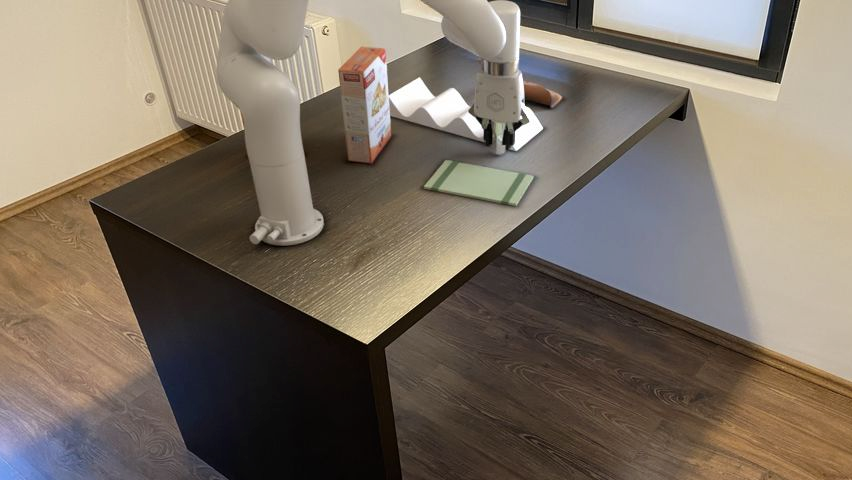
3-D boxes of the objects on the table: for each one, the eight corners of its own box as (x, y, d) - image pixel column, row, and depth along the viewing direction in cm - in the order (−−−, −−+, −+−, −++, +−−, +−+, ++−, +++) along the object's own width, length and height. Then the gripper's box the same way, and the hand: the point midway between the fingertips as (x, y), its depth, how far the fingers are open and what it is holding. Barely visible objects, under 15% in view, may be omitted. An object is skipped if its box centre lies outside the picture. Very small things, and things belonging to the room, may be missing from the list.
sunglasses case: (564, 95, 190) (560, 78, 184) (553, 117, 188) (549, 101, 182) (501, 81, 197) (495, 65, 191) (490, 103, 195) (484, 87, 189)
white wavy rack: (516, 151, 167) (516, 130, 164) (389, 115, 181) (388, 95, 178) (543, 128, 176) (544, 108, 173) (420, 96, 190) (419, 77, 187)
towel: (516, 206, 149) (516, 203, 148) (423, 188, 154) (423, 186, 153) (533, 177, 158) (533, 175, 157) (445, 162, 163) (445, 159, 162)
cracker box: (373, 165, 161) (364, 71, 149) (347, 162, 162) (335, 69, 149) (393, 136, 172) (386, 47, 159) (368, 133, 173) (359, 44, 160)
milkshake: (504, 159, 162) (507, 117, 156) (483, 151, 164) (486, 109, 158) (515, 151, 165) (519, 109, 159) (494, 144, 168) (497, 102, 161)
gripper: (455, 65, 152) (457, 146, 163) (534, 77, 148) (530, 159, 159) (468, 53, 158) (469, 132, 169) (544, 64, 154) (540, 144, 165)
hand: (499, 144), depth 164 cm, fingers closed on milkshake, 4 cm apart
